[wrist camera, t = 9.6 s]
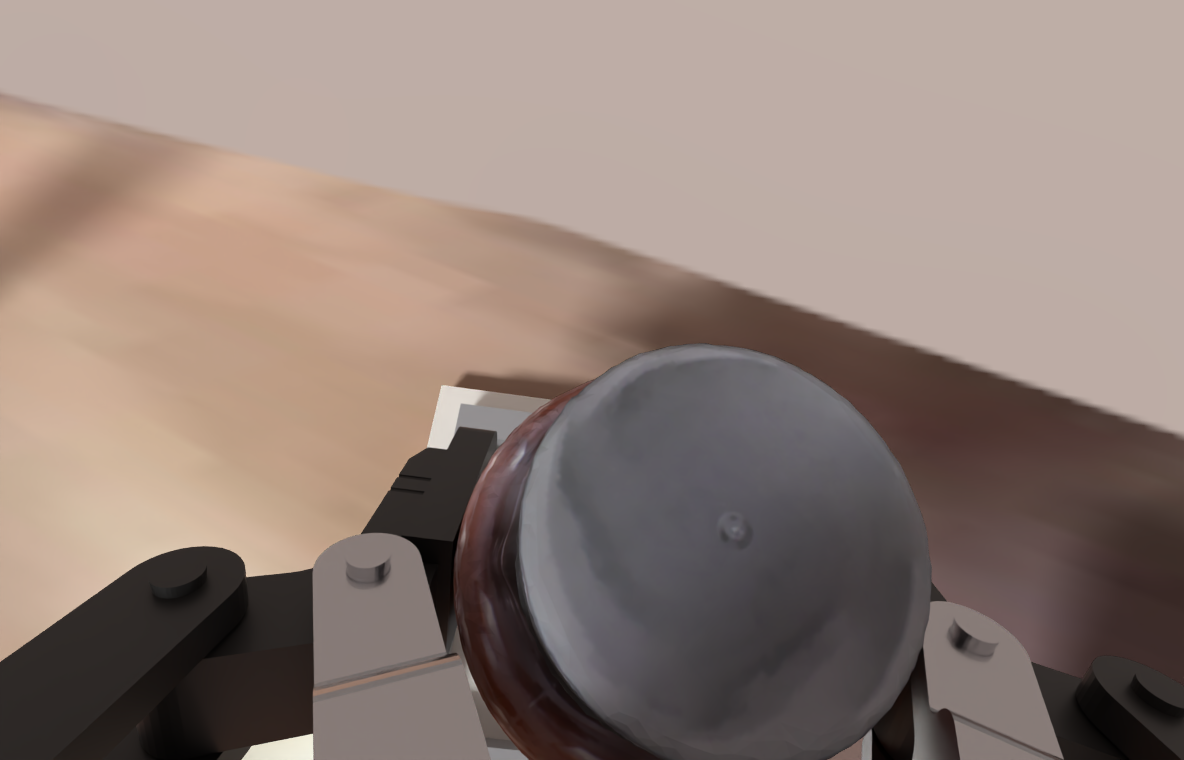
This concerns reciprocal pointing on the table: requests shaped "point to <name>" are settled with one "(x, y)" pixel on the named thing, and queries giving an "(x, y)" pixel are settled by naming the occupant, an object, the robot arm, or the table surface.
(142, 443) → the table surface
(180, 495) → the table surface
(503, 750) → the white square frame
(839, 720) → the supplement bottle
